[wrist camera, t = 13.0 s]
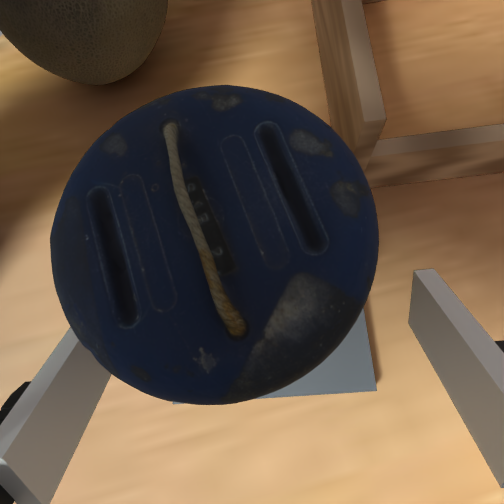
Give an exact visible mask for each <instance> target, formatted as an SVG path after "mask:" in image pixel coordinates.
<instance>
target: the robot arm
mask: <svg viewBox="0 0 504 504" xmlns="http://www.w3.org/2000/svg"><path fill="white" fill-rule="evenodd" d="M408 323H409V325H410V327H411V329H412V330H413V332H414V334H415V336H416V338H417V339H418V341H419V343H420V345H421V346H422V348H423V350H424V352H425V354H426V355H427V357H428V359H429V361H430V362H431V364H432V366H433V368H434V370H435V371H436V373H437V375H438V377H439V378H440V380H441V382H442V384H443V386H444V387H445V389H446V391H447V393H448V395H449V396H450V398H451V400H452V402H453V403H454V405H455V407H456V409H457V411H458V412H459V414H460V416H461V418H462V419H463V421H464V423H465V425H466V427H467V428H468V430H469V432H470V434H471V435H472V437H473V439H474V441H475V443H476V444H477V446H478V448H479V450H480V451H481V453H482V455H483V457H484V459H485V460H486V462H487V464H488V466H489V467H490V469H491V471H492V473H493V475H494V476H495V478H496V480H497V482H498V484H499V485H500V487H501V488H504V341H493V339H492V338H491V337H490V336H489V335H488V333H487V332H486V331H485V330H484V329H483V327H482V326H481V325H480V324H479V323H478V321H477V320H476V319H475V318H474V317H473V315H472V314H471V313H470V312H469V311H468V309H467V308H466V307H465V306H464V304H463V303H462V302H461V301H460V300H459V298H458V297H457V296H456V295H455V294H454V292H453V291H452V290H451V289H450V288H449V286H448V285H447V284H446V283H445V282H444V280H443V279H442V278H441V277H440V276H439V274H438V273H437V272H436V271H435V270H434V268H433V269H423V270H414V273H413V283H412V292H411V302H410V312H409V321H408ZM110 376H111V373H110V372H109V371H107V370H106V369H105V368H104V367H103V366H102V365H101V364H100V363H99V362H98V361H97V360H96V359H95V357H94V356H93V354H92V353H91V351H89V350H88V349H87V348H85V347H84V346H83V345H82V343H81V342H80V341H79V340H78V338H77V337H76V335H75V333H74V332H73V330H72V328H71V327H70V328H69V330H68V331H67V333H66V334H65V335H64V337H63V338H62V340H61V341H60V342H59V344H58V345H57V347H56V348H55V349H54V351H53V352H52V354H51V355H50V356H49V358H48V359H47V361H46V362H45V363H44V365H43V366H42V368H41V369H40V370H39V372H38V373H37V375H36V376H35V377H34V379H33V380H32V381H30V382H25V383H24V384H23V385H21V386H20V387H19V388H18V389H17V390H16V391H15V392H13V393H12V394H11V395H10V397H9V398H8V399H7V401H6V402H5V403H4V405H3V406H2V407H1V411H0V504H13V503H14V501H15V502H16V503H17V504H50V502H51V500H52V498H53V496H54V494H55V492H56V490H57V488H58V485H59V483H60V481H61V479H62V477H63V475H64V473H65V471H66V469H67V467H68V465H69V462H70V460H71V458H72V456H73V454H74V452H75V450H76V448H77V446H78V444H79V441H80V439H81V437H82V435H83V433H84V431H85V429H86V427H87V425H88V423H89V420H90V418H91V416H92V414H93V412H94V410H95V408H96V406H97V404H98V402H99V400H100V397H101V395H102V393H103V391H104V389H105V387H106V385H107V383H108V381H109V379H110Z"/></svg>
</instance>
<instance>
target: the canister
mask: <svg viewBox="0 0 504 504" xmlns="http://www.w3.org/2000/svg"><path fill="white" fill-rule="evenodd" d="M50 246H51V262H52V272H53V278H54V284H55V288H56V292H57V295H58V297H59V300H60V303H61V306H62V309H63V311H64V314H65V316H66V318H67V320H68V322H69V324H70V326H71V328H72V330H73V332H74V333H75V335H76V337H77V338H78V340H79V341H80V342H81V343H82V345H83V346H84V347H85V348H87V349H88V350H89V351H91V353H92V354H93V356H94V357H95V359H96V360H97V361H98V362H99V363H100V364H101V365H102V366H103V367H104V368H105V369H106V370H107V371H109V372H110V373H111V374H113V375H114V376H115V377H117V378H118V379H120V380H122V381H123V382H125V383H127V384H129V385H130V386H132V387H134V388H136V389H138V390H140V391H142V392H144V393H146V394H149V395H151V396H154V397H157V398H160V399H163V400H167V401H173V402H179V403H187V404H196V405H224V404H233V403H238V402H243V401H247V400H252V399H255V398H258V397H261V396H264V395H267V394H270V393H273V392H275V391H277V390H280V389H282V388H284V387H286V386H288V385H290V384H292V383H293V382H295V381H297V380H299V379H300V378H302V377H304V376H305V375H306V374H308V373H309V372H311V371H312V370H313V369H315V368H316V367H317V366H318V365H320V364H321V363H322V362H323V361H324V360H325V359H326V358H327V357H328V356H329V355H330V354H331V353H332V352H333V351H334V350H335V349H336V348H337V347H338V346H339V345H340V344H341V342H342V341H343V340H344V339H345V337H346V336H347V334H348V333H349V331H350V330H351V328H352V327H353V325H354V324H355V323H356V321H357V319H358V317H359V315H360V313H361V311H362V309H363V307H364V305H365V302H366V300H367V298H368V295H369V292H370V290H371V286H372V283H373V280H374V275H375V271H376V265H377V259H378V247H379V230H378V221H377V213H376V208H375V203H374V199H373V196H372V193H371V189H370V186H369V184H368V181H367V179H366V177H365V174H364V172H363V170H362V168H361V166H360V164H359V162H358V160H357V159H356V157H355V155H354V154H353V152H352V151H351V150H350V148H349V147H348V146H347V145H346V143H345V142H344V141H343V140H342V138H341V137H340V136H339V135H338V134H337V133H336V132H335V131H334V130H333V129H332V128H331V127H330V126H329V125H327V124H326V123H325V122H324V121H323V120H321V119H320V118H319V117H317V116H316V115H314V114H313V113H311V112H310V111H309V110H307V109H306V108H304V107H302V106H301V105H299V104H297V103H295V102H293V101H291V100H289V99H286V98H284V97H282V96H279V95H276V94H273V93H269V92H266V91H262V90H258V89H253V88H248V87H240V86H232V85H217V86H207V87H198V88H192V89H187V90H183V91H179V92H175V93H172V94H169V95H166V96H164V97H161V98H158V99H156V100H154V101H152V102H150V103H148V104H146V105H144V106H142V107H140V108H138V109H137V110H135V111H133V112H131V113H129V114H128V115H126V116H125V117H123V118H122V119H120V120H119V121H118V122H117V123H115V124H114V125H113V126H112V127H111V128H110V129H109V130H107V131H106V132H105V133H104V134H103V135H101V136H100V137H99V138H98V139H97V140H96V141H95V142H94V143H93V145H92V146H91V147H90V148H89V150H88V151H87V152H86V153H85V155H84V156H83V158H82V159H81V160H80V162H79V164H78V165H77V167H76V168H75V170H74V171H73V173H72V174H71V177H70V179H69V181H68V182H67V185H66V187H65V189H64V192H63V194H62V197H61V199H60V202H59V205H58V208H57V211H56V214H55V218H54V222H53V226H52V230H51V236H50Z"/></svg>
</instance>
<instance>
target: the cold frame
mask: <svg viewBox="0 0 504 504" xmlns="http://www.w3.org/2000/svg"><path fill="white" fill-rule="evenodd" d="M377 1H384V0H312V2H311V3H312V9H313V15H314V21H315V28H316V34H317V40H318V46H319V53H320V59H321V65H322V71H323V77H324V84H325V90H326V96H327V102H328V109H329V115H330V121H331V127H332V129H333V130H334V131H335V132H336V133H337V134H338V135H339V136H340V137H341V138H342V140H343V141H344V142H345V143H346V145H347V146H348V147H349V148H350V150H351V151H352V152H353V154H354V155H355V157H356V159H357V160H358V162H359V164H360V166H361V168H362V170H363V172H364V174H365V177H366V179H367V181H368V184H369V186H370V188H374V187H383V186H391V185H400V184H408V183H417V182H425V181H434V180H442V179H451V178H459V177H468V176H476V175H485V174H493V173H502V172H504V124H497V125H489V126H481V127H474V128H466V129H458V130H450V131H443V132H435V133H427V134H420V135H412V136H404V137H396V138H389V139H381V140H378V138H379V136H380V133H381V131H382V129H383V126H384V124H385V122H386V114H385V109H384V104H383V100H382V95H381V90H380V86H379V81H378V76H377V71H376V67H375V62H374V57H373V53H372V48H371V43H370V39H369V34H368V29H367V24H366V20H365V15H364V10H363V6H362V4H365V3H371V2H377Z"/></svg>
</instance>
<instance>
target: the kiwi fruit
mask: <svg viewBox="0 0 504 504" xmlns="http://www.w3.org/2000/svg"><path fill="white" fill-rule="evenodd" d="M167 4H168V0H0V31H1V32H2V33H3V34H4V36H5V37H6V38H7V39H8V40H9V41H10V42H11V43H12V44H13V45H14V46H15V47H16V48H17V49H18V50H19V51H20V52H21V53H22V54H23V55H25V56H26V57H27V58H28V59H30V60H31V61H32V62H34V63H35V64H37V65H38V66H40V67H42V68H44V69H45V70H47V71H49V72H51V73H53V74H55V75H58V76H60V77H62V78H65V79H68V80H71V81H74V82H79V83H84V84H90V85H104V84H108V83H112V82H115V81H117V80H120V79H122V78H124V77H126V76H128V75H130V74H131V73H132V72H134V71H135V70H136V69H137V68H139V67H140V66H141V65H142V64H143V62H144V61H145V60H146V59H147V57H148V56H149V54H150V53H151V51H152V49H153V48H154V46H155V44H156V41H157V39H158V37H159V35H160V33H161V30H162V27H163V25H164V22H165V18H166V13H167Z"/></svg>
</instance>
